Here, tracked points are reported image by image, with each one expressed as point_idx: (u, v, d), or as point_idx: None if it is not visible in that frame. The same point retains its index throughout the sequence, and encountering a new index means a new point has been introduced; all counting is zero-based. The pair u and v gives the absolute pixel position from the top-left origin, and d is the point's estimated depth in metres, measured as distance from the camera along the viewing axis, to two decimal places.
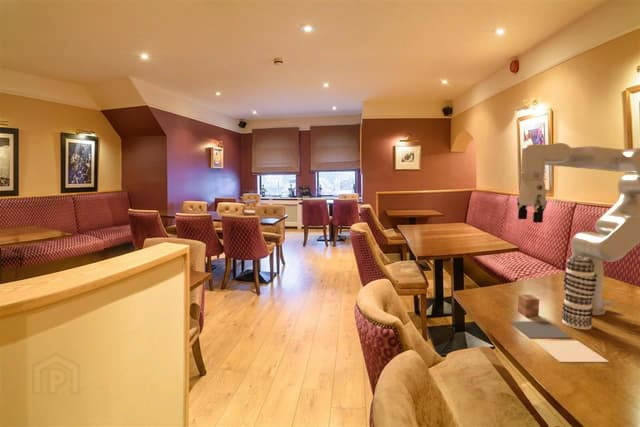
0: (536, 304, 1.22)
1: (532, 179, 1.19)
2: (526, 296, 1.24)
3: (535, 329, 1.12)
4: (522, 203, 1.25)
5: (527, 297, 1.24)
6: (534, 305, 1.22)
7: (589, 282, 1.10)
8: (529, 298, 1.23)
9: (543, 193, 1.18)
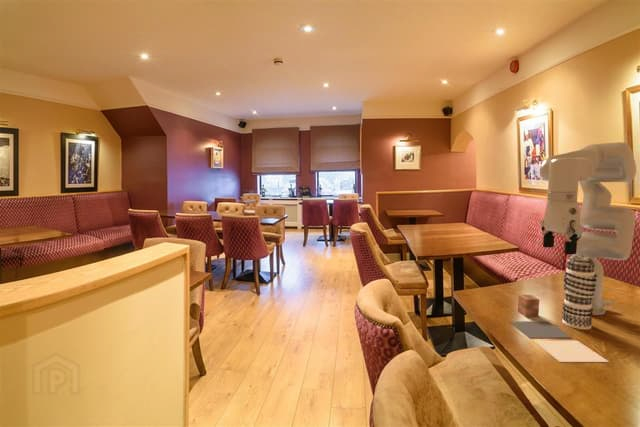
0: (536, 304, 1.22)
1: (563, 201, 0.97)
2: (526, 296, 1.24)
3: (535, 329, 1.12)
4: (549, 229, 1.03)
5: (527, 297, 1.24)
6: (534, 305, 1.22)
7: (589, 282, 1.10)
8: (529, 298, 1.23)
9: (577, 218, 0.95)
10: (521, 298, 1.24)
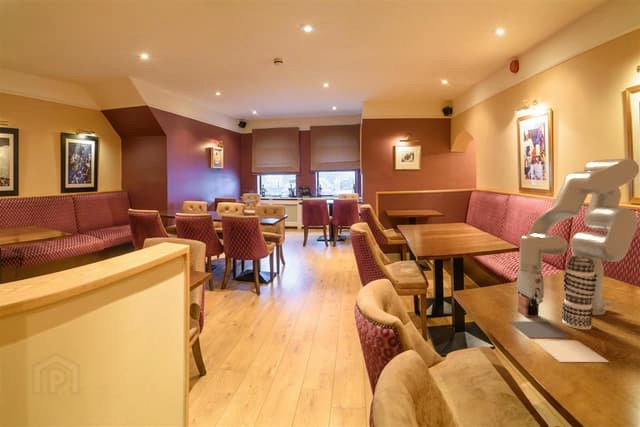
0: None
1: (530, 271, 1.19)
2: (526, 296, 1.24)
3: (535, 329, 1.12)
4: (520, 291, 1.26)
5: (527, 297, 1.24)
6: None
7: (589, 282, 1.10)
8: None
9: (541, 286, 1.18)
10: (521, 298, 1.24)
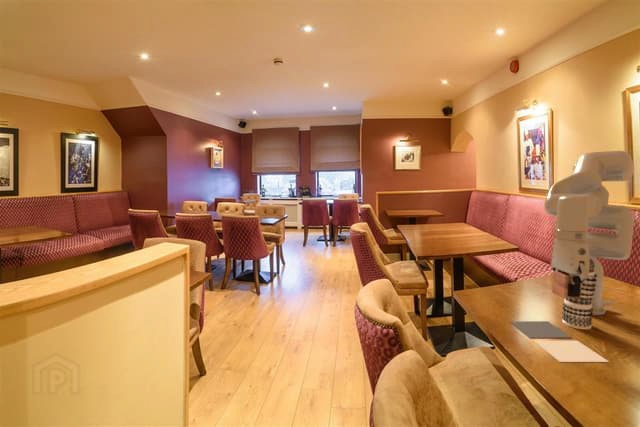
0: None
1: (572, 240, 0.94)
2: (564, 273, 0.99)
3: (535, 329, 1.12)
4: (557, 267, 1.00)
5: (565, 273, 0.98)
6: None
7: (589, 282, 1.10)
8: None
9: (586, 259, 0.93)
10: (558, 275, 0.99)
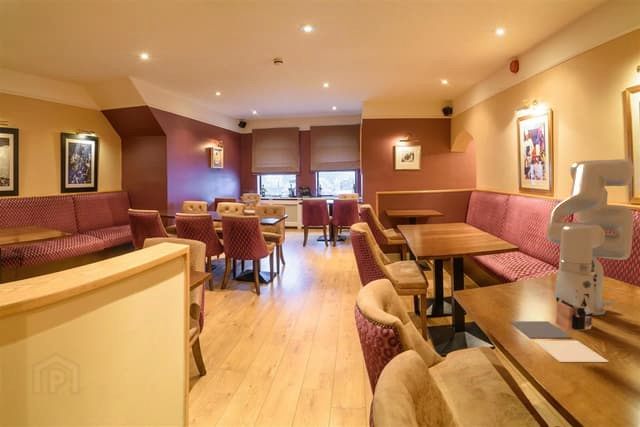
0: None
1: (576, 272, 0.92)
2: (568, 304, 0.97)
3: (535, 329, 1.12)
4: (561, 297, 0.98)
5: (570, 305, 0.96)
6: None
7: None
8: None
9: (591, 292, 0.91)
10: (562, 306, 0.97)
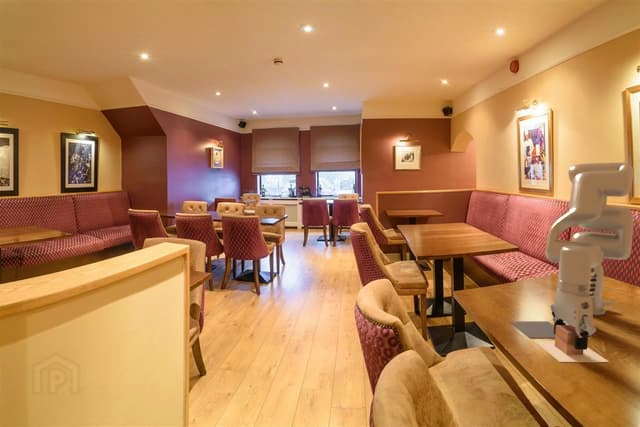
0: None
1: (575, 293, 0.93)
2: (566, 328, 0.98)
3: (535, 329, 1.12)
4: (559, 317, 0.99)
5: (568, 329, 0.97)
6: None
7: None
8: (571, 330, 0.96)
9: (590, 313, 0.91)
10: (560, 330, 0.98)
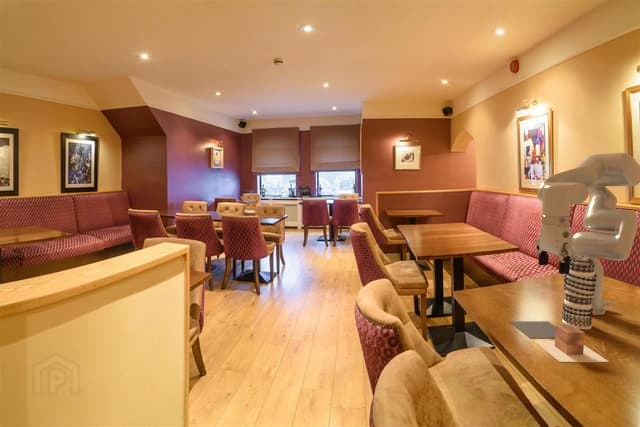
0: (580, 339, 0.95)
1: (557, 225, 1.04)
2: (566, 328, 0.98)
3: (535, 329, 1.12)
4: (544, 249, 1.11)
5: (568, 329, 0.97)
6: (577, 340, 0.95)
7: (589, 282, 1.10)
8: (571, 330, 0.96)
9: (570, 241, 1.03)
10: (560, 330, 0.98)
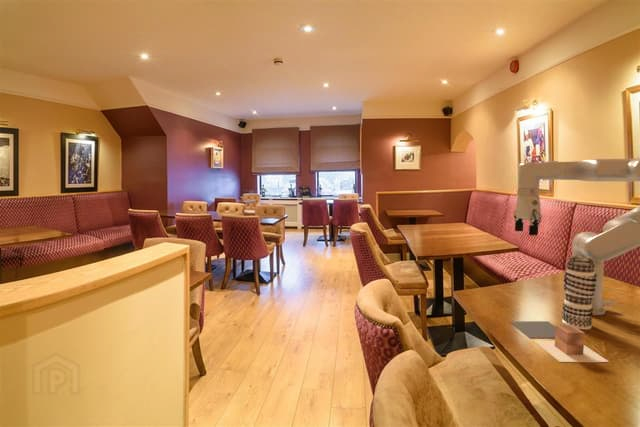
0: (580, 339, 0.95)
1: (528, 195, 1.28)
2: (566, 328, 0.98)
3: (535, 329, 1.12)
4: (519, 216, 1.34)
5: (568, 329, 0.97)
6: (577, 340, 0.95)
7: (589, 282, 1.10)
8: (571, 330, 0.96)
9: (538, 208, 1.27)
10: (560, 330, 0.98)
